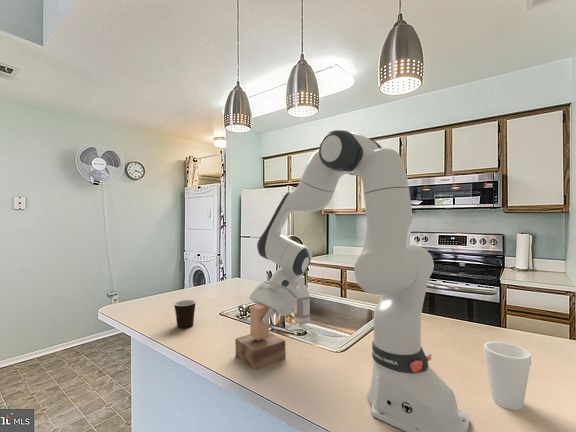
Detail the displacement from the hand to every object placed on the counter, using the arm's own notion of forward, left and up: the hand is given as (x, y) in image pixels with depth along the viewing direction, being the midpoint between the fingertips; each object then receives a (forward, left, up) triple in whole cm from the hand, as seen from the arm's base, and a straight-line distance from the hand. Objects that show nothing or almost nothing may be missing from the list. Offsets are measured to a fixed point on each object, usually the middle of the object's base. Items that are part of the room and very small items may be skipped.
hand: (257, 319), depth 99 cm
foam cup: (-59, -36, -13) cm, 70 cm away
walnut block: (0, -1, -13) cm, 13 cm away
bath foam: (+16, -33, -13) cm, 39 cm away
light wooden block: (0, -1, -6) cm, 6 cm away
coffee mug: (+45, +8, -13) cm, 48 cm away
